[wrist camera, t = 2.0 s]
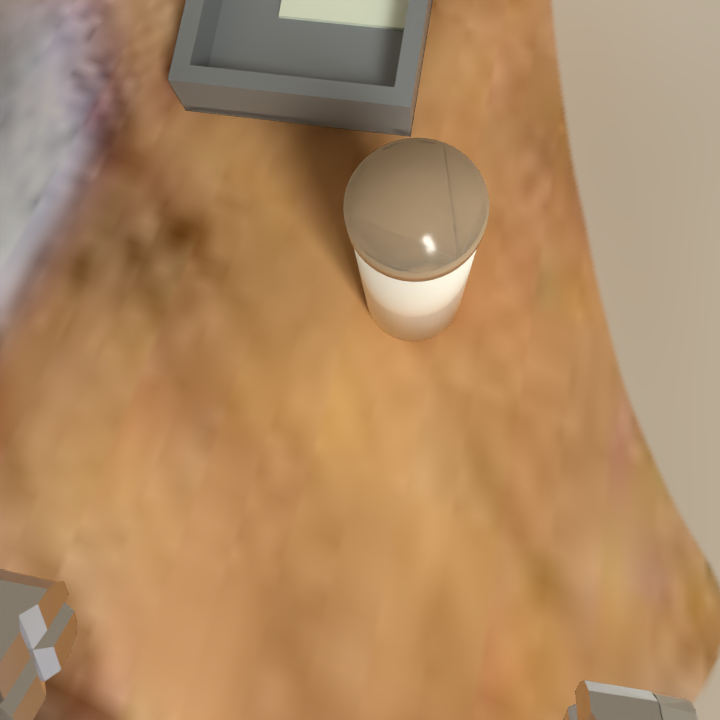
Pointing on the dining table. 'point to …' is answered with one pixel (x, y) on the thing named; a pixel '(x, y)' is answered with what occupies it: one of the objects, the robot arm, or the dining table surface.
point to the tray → (303, 61)
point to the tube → (415, 233)
